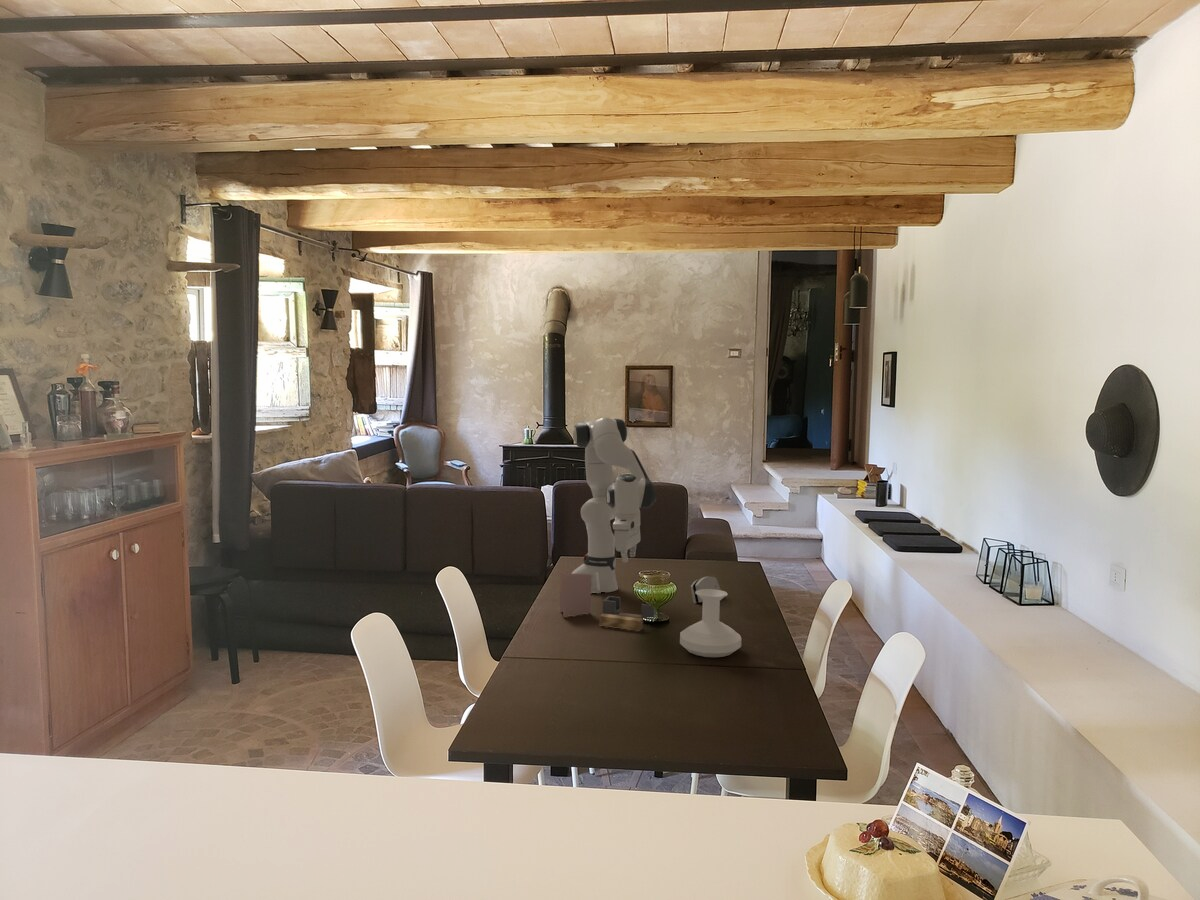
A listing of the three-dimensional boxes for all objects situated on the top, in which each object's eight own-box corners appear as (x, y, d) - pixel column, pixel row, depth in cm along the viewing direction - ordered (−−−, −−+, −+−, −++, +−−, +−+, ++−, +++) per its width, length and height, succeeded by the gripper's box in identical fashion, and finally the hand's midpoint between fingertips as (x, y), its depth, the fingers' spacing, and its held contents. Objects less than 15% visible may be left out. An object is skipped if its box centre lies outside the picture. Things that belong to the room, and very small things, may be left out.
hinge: (704, 605, 320) (697, 580, 321) (694, 607, 322) (687, 582, 324) (725, 596, 333) (718, 572, 334) (715, 598, 336) (708, 574, 337)
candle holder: (735, 665, 253) (737, 604, 252) (672, 657, 260) (673, 597, 258) (745, 645, 272) (747, 588, 270) (686, 638, 279) (687, 583, 277)
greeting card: (590, 613, 307) (591, 573, 306) (588, 618, 300) (588, 578, 299) (560, 611, 308) (560, 572, 307) (557, 617, 301) (557, 577, 300)
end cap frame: (602, 617, 301) (603, 600, 301) (608, 613, 308) (608, 596, 307) (653, 623, 295) (653, 605, 295) (658, 618, 302) (658, 601, 301)
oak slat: (599, 627, 291) (599, 616, 291) (603, 624, 295) (603, 613, 294) (639, 632, 286) (639, 621, 285) (642, 629, 289) (642, 618, 289)
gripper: (627, 516, 302) (628, 553, 303) (611, 525, 283) (612, 565, 284) (644, 516, 300) (645, 554, 301) (628, 525, 281) (629, 565, 282)
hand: (628, 559), depth 292 cm, fingers open, 8 cm apart
